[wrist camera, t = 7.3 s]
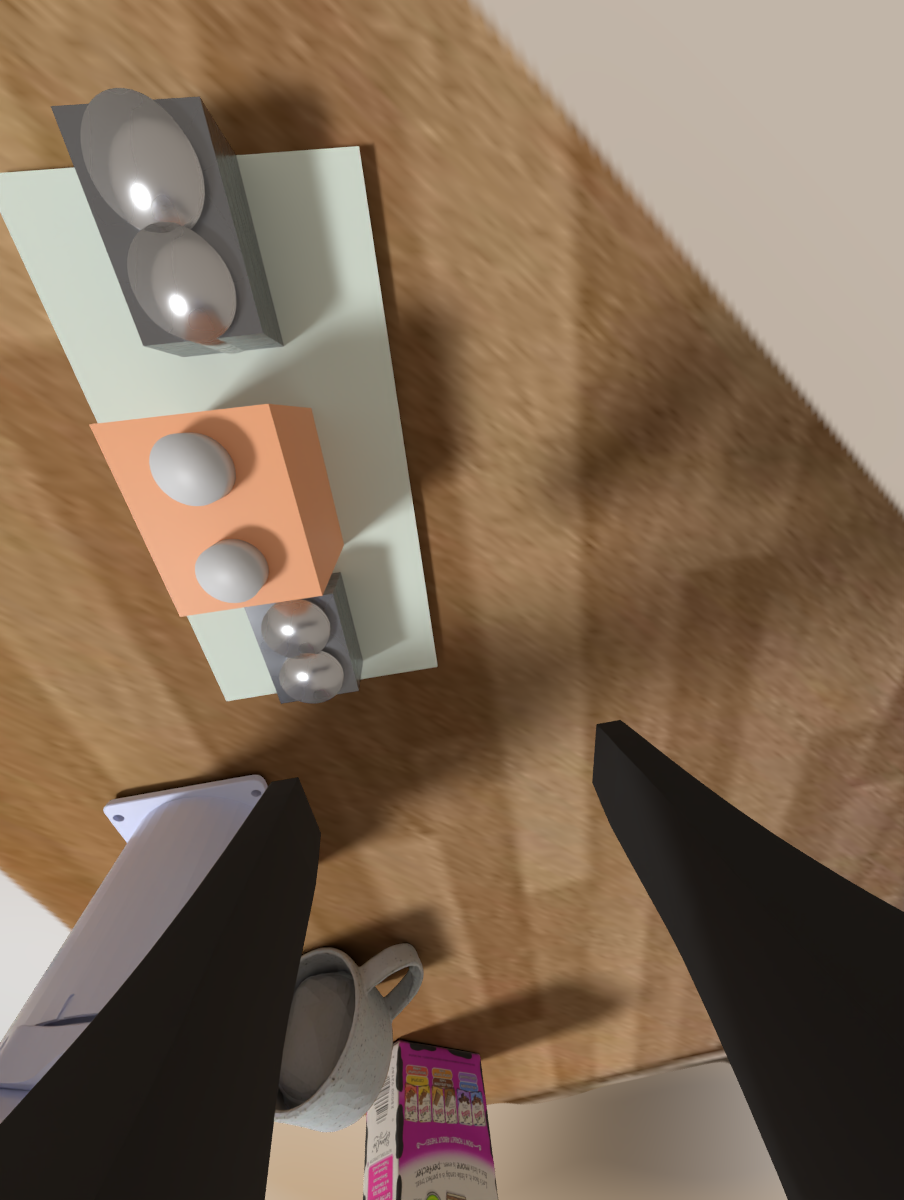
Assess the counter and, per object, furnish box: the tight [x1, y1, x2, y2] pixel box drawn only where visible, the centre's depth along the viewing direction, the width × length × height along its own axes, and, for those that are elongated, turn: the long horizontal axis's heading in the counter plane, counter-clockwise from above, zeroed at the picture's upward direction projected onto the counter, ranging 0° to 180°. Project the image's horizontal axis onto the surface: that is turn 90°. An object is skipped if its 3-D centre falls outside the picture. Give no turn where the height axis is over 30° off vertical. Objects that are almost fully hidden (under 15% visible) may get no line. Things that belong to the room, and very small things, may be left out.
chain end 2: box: [244, 572, 363, 704], centre depth 16 cm, size 5×3×2 cm
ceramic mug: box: [274, 943, 423, 1132], centre depth 27 cm, size 11×8×8 cm
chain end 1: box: [51, 88, 284, 357], centre depth 11 cm, size 5×3×2 cm
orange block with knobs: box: [89, 404, 344, 617], centre depth 12 cm, size 5×4×6 cm
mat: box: [0, 146, 438, 701], centre depth 15 cm, size 18×10×1 cm, turn 6°
